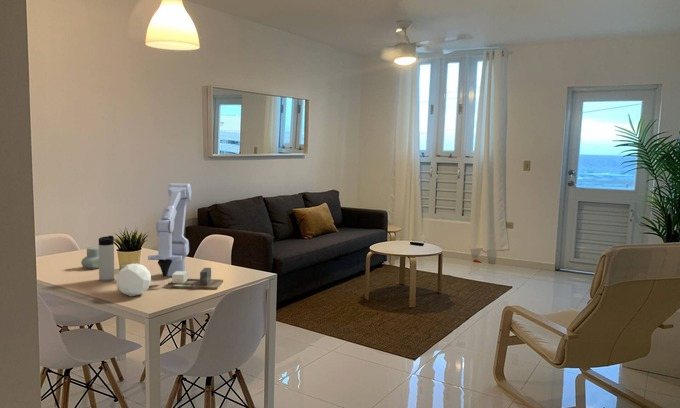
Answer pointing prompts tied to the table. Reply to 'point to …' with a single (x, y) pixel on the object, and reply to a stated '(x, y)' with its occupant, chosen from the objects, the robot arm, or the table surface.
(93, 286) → the table surface
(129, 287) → the geodesic sphere
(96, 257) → the air freshener
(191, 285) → the base
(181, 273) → the block
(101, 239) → the travel mug
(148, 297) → the table surface
